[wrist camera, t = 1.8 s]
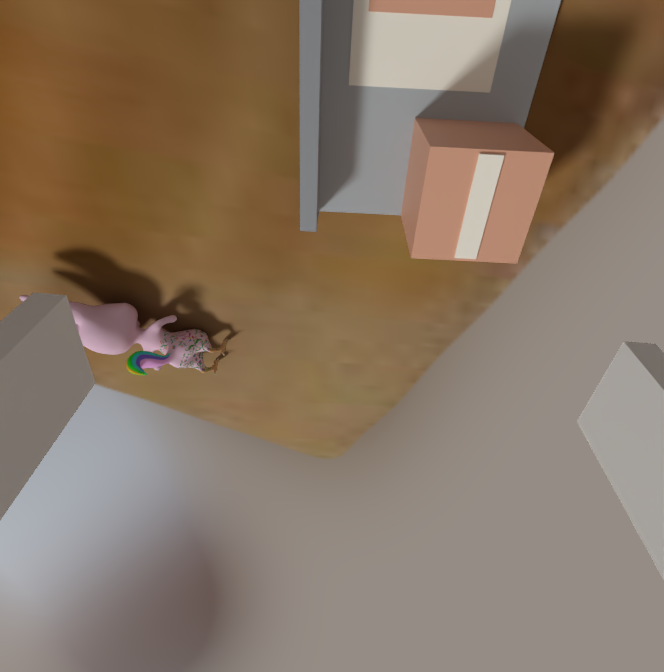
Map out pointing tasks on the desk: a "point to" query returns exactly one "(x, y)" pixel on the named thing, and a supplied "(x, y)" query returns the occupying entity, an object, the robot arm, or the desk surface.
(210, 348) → the rabbit figure
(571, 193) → the desk surface
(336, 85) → the tray
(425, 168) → the cube
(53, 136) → the desk surface
